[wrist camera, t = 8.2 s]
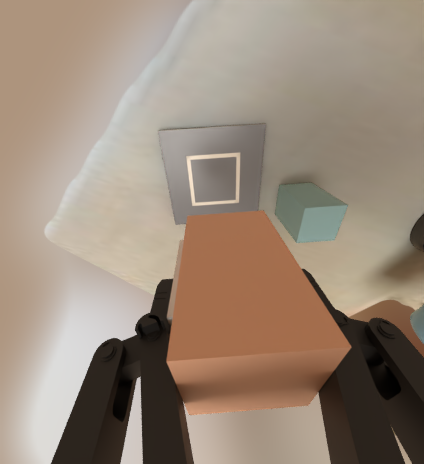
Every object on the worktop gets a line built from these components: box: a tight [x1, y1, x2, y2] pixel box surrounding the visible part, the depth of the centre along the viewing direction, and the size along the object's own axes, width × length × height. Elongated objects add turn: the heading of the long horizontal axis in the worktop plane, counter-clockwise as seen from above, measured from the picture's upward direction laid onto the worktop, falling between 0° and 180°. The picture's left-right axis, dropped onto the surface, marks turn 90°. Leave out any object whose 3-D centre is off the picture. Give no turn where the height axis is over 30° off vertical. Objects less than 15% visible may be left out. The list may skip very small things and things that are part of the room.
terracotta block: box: [166, 210, 351, 415], centre depth 12 cm, size 6×6×10 cm
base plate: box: [158, 123, 266, 225], centre depth 32 cm, size 16×16×2 cm
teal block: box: [275, 183, 348, 243], centre depth 31 cm, size 6×6×10 cm
